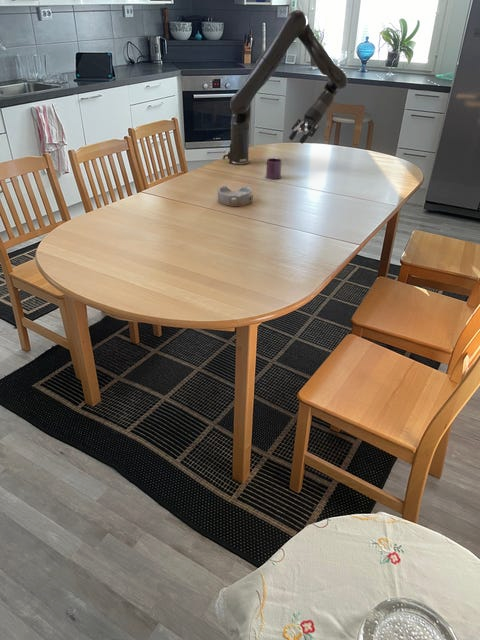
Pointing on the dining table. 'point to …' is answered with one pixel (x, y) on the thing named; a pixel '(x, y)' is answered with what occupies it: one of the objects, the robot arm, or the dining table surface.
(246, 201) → the dish
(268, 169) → the cup
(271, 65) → the robot arm
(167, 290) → the dining table surface
